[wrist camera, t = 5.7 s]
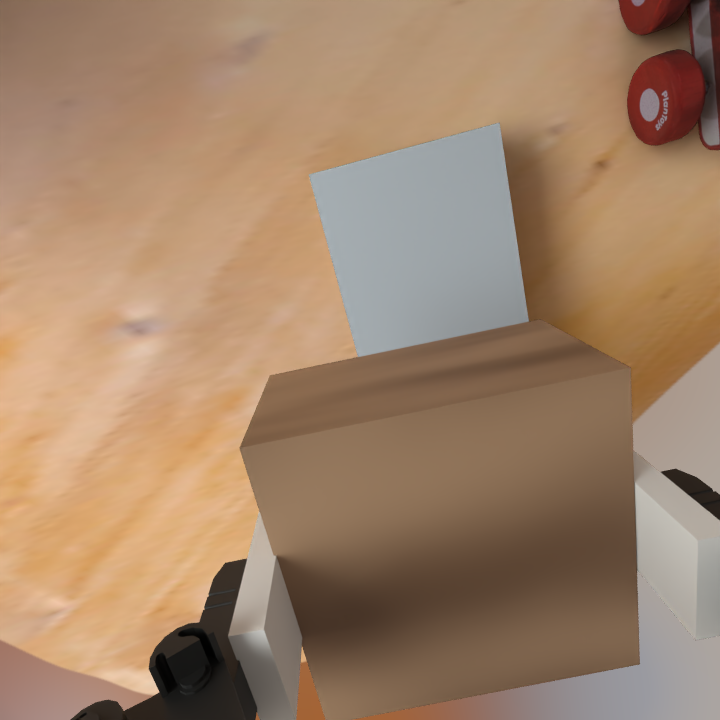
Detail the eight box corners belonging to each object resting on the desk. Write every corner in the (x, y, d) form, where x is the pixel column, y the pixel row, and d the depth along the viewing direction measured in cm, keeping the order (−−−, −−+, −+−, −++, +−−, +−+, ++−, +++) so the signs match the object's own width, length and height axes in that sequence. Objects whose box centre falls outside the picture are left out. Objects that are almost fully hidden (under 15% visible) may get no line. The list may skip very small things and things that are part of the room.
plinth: (312, 179, 26) (308, 174, 22) (474, 135, 25) (499, 122, 22) (381, 436, 31) (388, 469, 27) (518, 402, 30) (544, 430, 26)
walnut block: (270, 375, 16) (239, 448, 11) (540, 319, 15) (630, 367, 11) (330, 590, 18) (327, 724, 14) (560, 544, 18) (639, 664, 13)
